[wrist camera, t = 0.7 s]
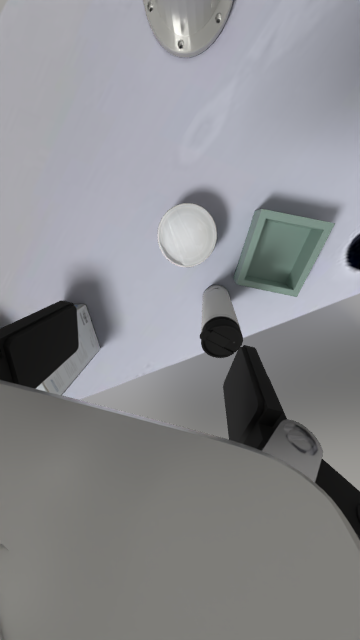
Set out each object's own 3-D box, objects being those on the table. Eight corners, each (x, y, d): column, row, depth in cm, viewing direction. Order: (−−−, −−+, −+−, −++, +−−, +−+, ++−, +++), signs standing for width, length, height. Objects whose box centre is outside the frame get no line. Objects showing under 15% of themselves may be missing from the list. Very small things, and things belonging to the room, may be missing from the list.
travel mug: (210, 279, 42) (214, 317, 25) (234, 293, 43) (253, 339, 26) (196, 300, 45) (191, 348, 28) (219, 313, 46) (227, 367, 29)
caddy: (254, 210, 35) (262, 208, 31) (318, 223, 35) (335, 223, 31) (233, 278, 42) (236, 284, 37) (287, 289, 41) (296, 296, 37)
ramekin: (153, 241, 40) (146, 243, 36) (183, 191, 35) (180, 186, 31) (192, 273, 42) (191, 278, 38) (226, 230, 38) (229, 231, 33)
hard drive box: (61, 304, 51) (-15, 345, 33) (86, 303, 50) (21, 346, 32) (79, 349, 58) (24, 403, 40) (101, 349, 57) (55, 405, 39)
